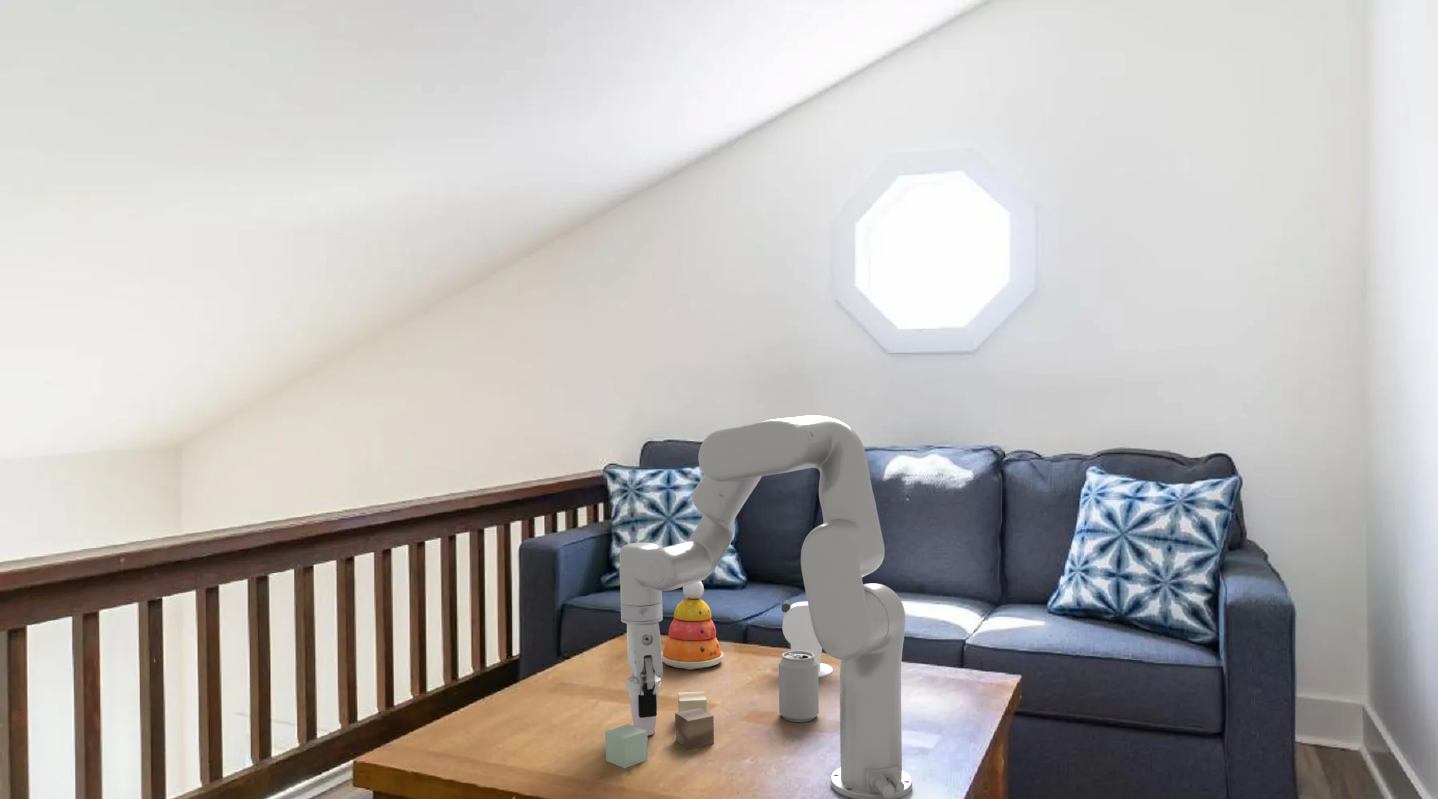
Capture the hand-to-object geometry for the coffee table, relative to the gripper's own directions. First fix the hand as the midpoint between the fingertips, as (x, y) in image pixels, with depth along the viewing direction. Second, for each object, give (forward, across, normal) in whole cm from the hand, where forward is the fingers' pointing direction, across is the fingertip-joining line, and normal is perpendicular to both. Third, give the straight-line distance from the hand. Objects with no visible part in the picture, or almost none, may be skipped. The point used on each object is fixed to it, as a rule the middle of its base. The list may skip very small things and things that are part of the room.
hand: (644, 709), depth 183 cm
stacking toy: (+4, +41, -19) cm, 46 cm away
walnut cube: (+5, -7, -8) cm, 11 cm away
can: (+5, 0, -30) cm, 30 cm away
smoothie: (+4, 0, 0) cm, 4 cm away
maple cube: (+4, +3, -10) cm, 11 cm away
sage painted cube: (+4, -12, +5) cm, 14 cm away
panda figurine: (+5, +28, -42) cm, 51 cm away
